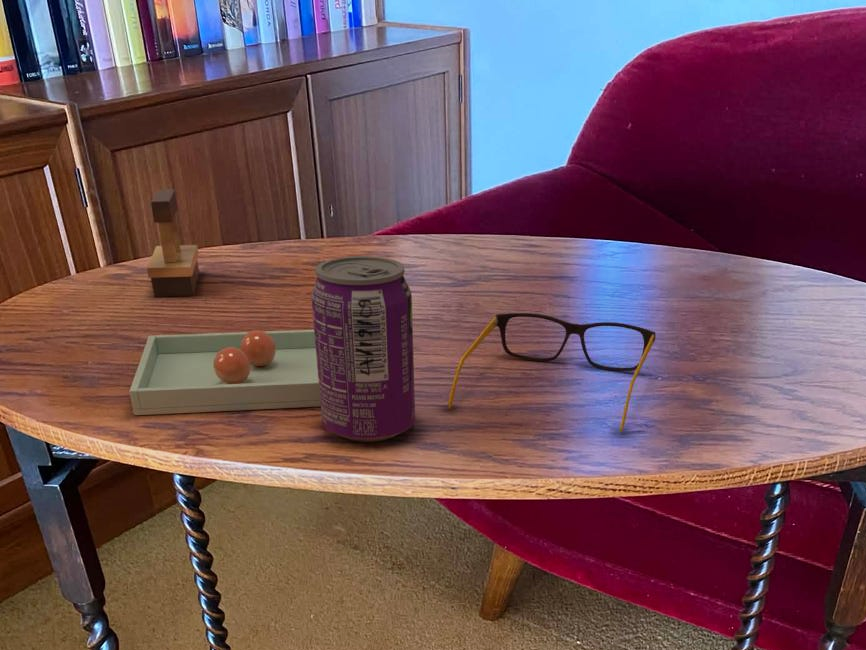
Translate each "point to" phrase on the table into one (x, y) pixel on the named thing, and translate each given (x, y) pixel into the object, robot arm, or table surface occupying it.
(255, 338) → the bead
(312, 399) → the tray
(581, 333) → the eyeglasses
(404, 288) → the beverage can
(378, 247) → the table surface
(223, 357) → the bead
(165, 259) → the brush
